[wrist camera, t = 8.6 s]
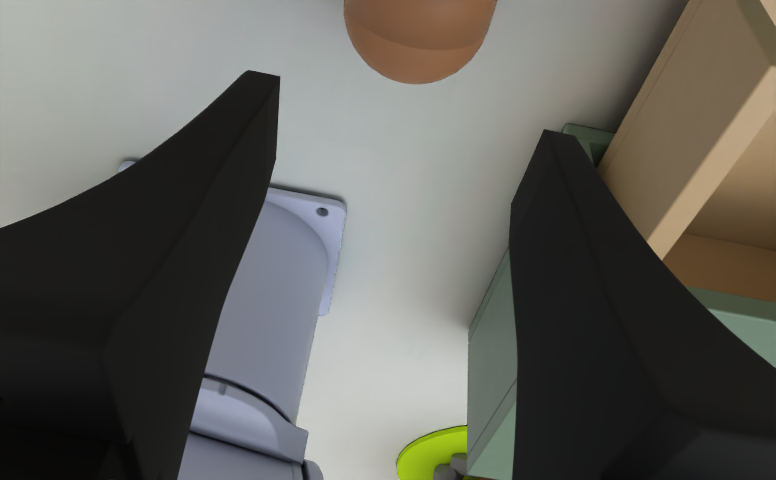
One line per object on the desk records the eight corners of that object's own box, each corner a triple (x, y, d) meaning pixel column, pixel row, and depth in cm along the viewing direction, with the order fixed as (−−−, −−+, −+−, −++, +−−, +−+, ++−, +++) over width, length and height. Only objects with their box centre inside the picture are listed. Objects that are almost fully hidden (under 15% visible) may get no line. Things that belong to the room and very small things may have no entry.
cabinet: (566, 122, 23) (590, 287, 18) (867, 183, 24) (973, 358, 19) (467, 331, 33) (466, 475, 28) (682, 369, 34) (718, 516, 29)
